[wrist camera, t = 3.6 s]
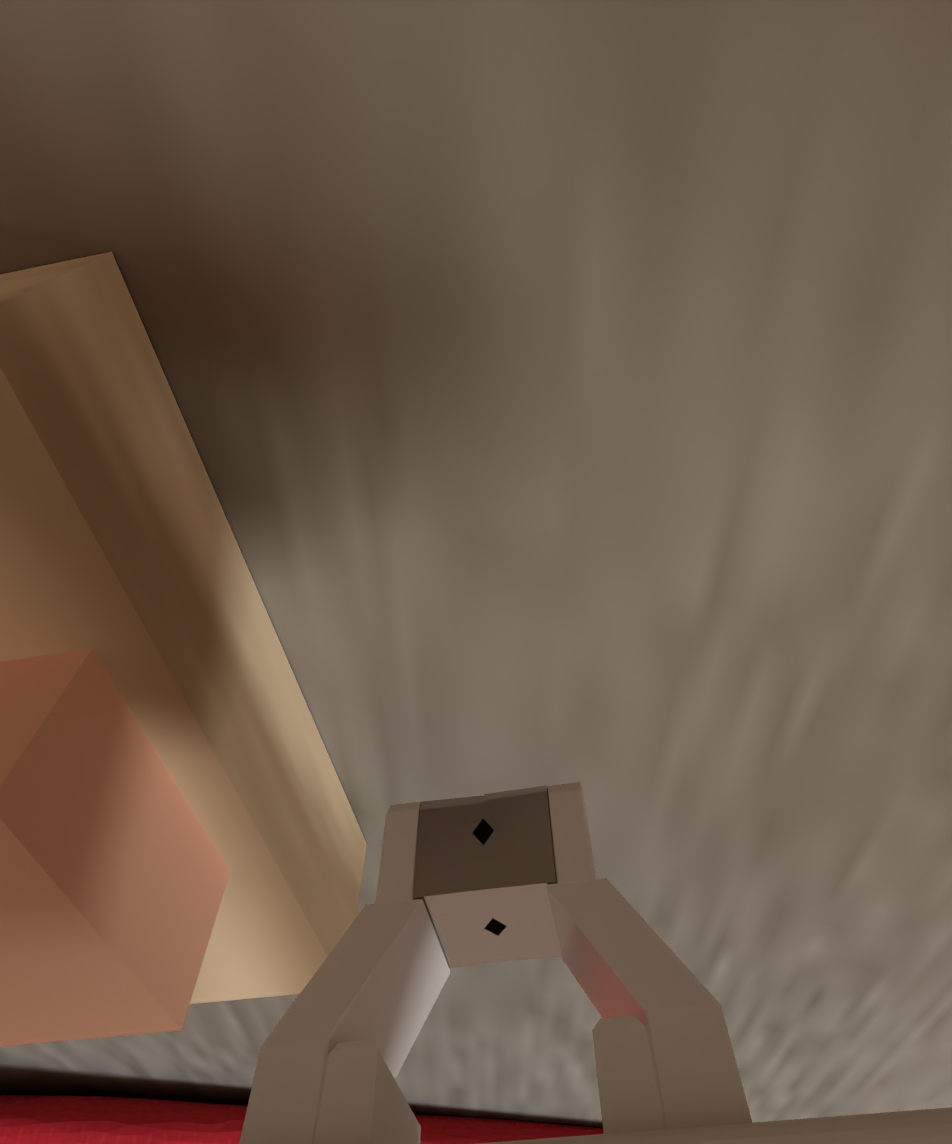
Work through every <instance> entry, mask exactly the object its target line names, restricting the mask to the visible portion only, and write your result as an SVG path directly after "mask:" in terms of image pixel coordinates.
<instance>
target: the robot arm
mask: <svg viewBox="0 0 952 1144" xmlns="http://www.w3.org/2000/svg"><path fill="white" fill-rule="evenodd" d="M552 957H562V958H563V961H564V962H565V964H566V965H567V967H568V968H569V969H570V971H571V972H572V974H573V975H574V977H575V978H576V980H577V981H578V983H579V984H580V985H581V987H582V988H583V990H584V991H585V993H586V994H587V996H588V997H589V998H590V1000H591V1001H592V1003H593V1004H594V1006H595V1007H596V1009H597V1010H598V1012H599V1013H600V1014H601V1016H602V1017H603V1018H602V1019H600V1020H599V1021H598V1023H597V1024H596V1026H595V1027H594V1029H593V1030H592V1031H593V1041H594V1050H595V1059H596V1068H597V1077H598V1086H599V1095H600V1104H601V1113H602V1122H603V1132H604V1134H597V1135H584V1136H571V1137H558V1138H545V1139H532V1140H519V1141H506V1142H492V1143H479V1144H952V1107H951V1108H938V1109H925V1110H912V1111H899V1112H886V1113H873V1114H859V1115H846V1116H833V1117H820V1118H807V1119H794V1120H781V1121H768V1122H755V1123H752V1120H751V1116H750V1112H749V1108H748V1105H747V1101H746V1097H745V1093H744V1090H743V1086H742V1082H741V1078H740V1075H739V1071H738V1067H737V1063H736V1060H735V1056H734V1052H733V1048H732V1045H731V1041H730V1037H729V1034H728V1030H727V1026H726V1022H725V1019H724V1015H723V1011H722V1007H721V1005H720V1004H719V1002H718V1001H717V1000H716V999H715V998H714V997H713V996H712V995H711V994H710V992H709V991H708V990H707V989H706V988H705V987H704V986H703V985H702V984H701V982H700V981H699V980H698V979H697V978H696V977H695V976H694V975H693V974H692V973H691V971H690V970H689V969H688V968H687V967H686V966H685V965H684V964H683V963H682V961H681V960H680V959H679V958H678V957H677V956H676V955H675V954H674V953H673V952H672V950H671V949H670V948H669V947H668V946H667V945H666V944H665V943H664V942H663V940H662V939H661V938H660V937H659V936H658V935H657V934H656V933H655V932H654V931H653V929H652V928H651V927H650V926H649V925H648V924H647V923H646V922H645V921H644V919H643V918H642V917H641V916H640V915H639V914H638V913H637V912H636V911H635V910H634V908H633V907H632V906H631V905H630V904H629V903H628V902H627V901H626V900H625V898H624V897H623V896H622V895H621V894H620V893H619V892H618V891H617V890H616V888H615V887H614V886H613V885H612V884H611V883H610V882H609V881H608V880H607V879H606V878H603V879H596V872H595V866H594V859H593V853H592V847H591V840H590V834H589V827H588V821H587V815H586V808H585V802H584V795H583V789H582V785H581V782H577V783H569V784H561V785H553V786H548V787H547V786H540V787H533V788H526V789H519V790H511V791H504V792H497V793H490V794H485V795H484V796H475V797H464V798H454V799H444V800H434V801H423V802H415V803H406V804H397V805H390V807H389V809H388V812H387V814H386V819H385V827H384V836H383V844H382V852H381V860H380V869H379V877H378V885H377V894H376V902H375V904H369V905H365V907H364V908H363V910H362V911H361V912H360V914H359V915H358V916H357V918H356V919H355V920H354V922H353V923H352V924H351V926H350V927H349V928H348V930H347V931H346V932H345V934H344V935H343V936H342V938H341V939H340V940H339V942H338V943H337V945H336V946H335V947H334V949H333V950H332V951H331V953H330V954H329V955H328V957H327V958H326V959H325V961H324V962H323V963H322V965H321V966H320V967H319V969H318V970H317V971H316V973H315V974H314V976H313V977H312V978H311V980H310V981H309V982H308V984H307V985H306V986H305V988H304V989H303V990H302V992H301V993H300V994H299V996H298V997H297V998H296V1000H295V1001H294V1002H293V1004H292V1005H291V1006H290V1008H289V1009H288V1011H287V1012H286V1013H285V1015H284V1016H283V1017H282V1019H281V1020H280V1021H279V1023H278V1024H277V1025H276V1027H275V1028H274V1029H273V1031H272V1032H271V1033H270V1035H269V1036H268V1037H267V1039H266V1040H265V1042H264V1043H263V1044H262V1046H261V1048H260V1053H259V1057H258V1062H257V1066H256V1071H255V1075H254V1080H253V1084H252V1089H251V1093H250V1098H249V1102H248V1107H247V1111H246V1116H245V1120H244V1124H243V1129H242V1133H241V1138H240V1142H239V1144H420V1133H421V1126H420V1125H419V1123H418V1121H417V1119H416V1117H415V1115H414V1114H413V1112H412V1110H411V1108H410V1106H409V1105H408V1103H407V1101H406V1099H405V1097H404V1095H403V1094H402V1092H401V1090H400V1088H399V1086H398V1085H397V1083H396V1081H395V1078H396V1076H397V1074H398V1073H399V1071H400V1069H401V1067H402V1065H403V1063H404V1061H405V1059H406V1057H407V1055H408V1053H409V1051H410V1049H411V1047H412V1045H413V1044H414V1042H415V1040H416V1038H417V1036H418V1034H419V1032H420V1030H421V1028H422V1026H423V1024H424V1022H425V1020H426V1018H427V1017H428V1015H429V1013H430V1011H431V1009H432V1007H433V1005H434V1003H435V1001H436V999H437V997H438V995H439V993H440V991H441V990H442V988H443V986H444V984H445V982H446V980H447V978H448V976H449V974H450V969H449V968H455V967H462V966H470V965H478V964H485V963H493V962H501V961H511V960H525V959H538V958H552Z"/></svg>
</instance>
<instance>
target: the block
mask: <svg viewBox="0 0 952 1144" xmlns="http://www.w3.org/2000/svg"><path fill="white" fill-rule="evenodd" d="M229 874H230V870H229V868H228V866H227V865H226V863H225V862H224V860H223V858H222V857H221V855H220V853H219V852H218V850H217V849H216V847H215V845H214V844H213V842H212V841H211V839H210V837H209V836H208V834H207V833H206V831H205V829H204V828H203V826H202V824H201V823H200V821H199V820H198V818H197V816H196V815H195V813H194V812H193V810H192V808H191V807H190V805H189V804H188V802H187V800H186V799H185V797H184V795H183V794H182V792H181V791H180V789H179V787H178V786H177V784H176V783H175V781H174V779H173V778H172V776H171V774H170V773H169V771H168V770H167V768H166V766H165V765H164V763H163V762H162V760H161V758H160V757H159V755H158V754H157V752H156V750H155V749H154V747H153V745H152V744H151V742H150V741H149V739H148V737H147V736H146V734H145V733H144V731H143V729H142V728H141V726H140V724H139V723H138V721H137V720H136V718H135V716H134V715H133V713H132V712H131V710H130V708H129V707H128V705H127V704H126V702H125V700H124V699H123V697H122V695H121V694H120V692H119V691H118V689H117V687H116V686H115V684H114V683H113V681H112V679H111V678H110V676H109V675H108V673H107V671H106V670H105V668H104V666H103V665H102V663H101V662H100V660H99V658H98V657H97V655H96V654H95V652H94V650H93V649H92V648H91V649H84V650H77V651H70V652H64V653H57V654H50V655H43V656H36V657H30V658H23V659H16V660H9V661H3V662H0V1046H11V1045H22V1044H34V1043H45V1042H56V1041H67V1040H78V1039H90V1038H101V1037H112V1036H123V1035H134V1034H146V1033H157V1032H168V1031H179V1030H182V1027H183V1024H184V1021H185V1017H186V1014H187V1011H188V1008H189V1004H190V1001H191V998H192V995H193V991H194V988H195V985H196V982H197V978H198V975H199V972H200V969H201V965H202V962H203V959H204V956H205V952H206V949H207V946H208V943H209V939H210V936H211V933H212V930H213V926H214V923H215V920H216V917H217V913H218V910H219V907H220V904H221V900H222V897H223V894H224V891H225V887H226V884H227V881H228V878H229Z"/></svg>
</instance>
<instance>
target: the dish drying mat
mask: <svg viewBox="0 0 952 1144" xmlns="http://www.w3.org/2000/svg"><path fill="white" fill-rule="evenodd" d="M247 1107H248V1106H245V1105H225V1104H213V1103H199V1102H186V1101H170V1100H158V1099H146V1098H124V1097H102V1096H39V1095H0V1144H239V1142H240V1138H241V1133H242V1129H243V1124H244V1120H245V1116H246V1111H247ZM415 1117H416V1119H417V1121H418V1123H419V1125H420V1126H421V1133H420V1144H479V1143H492V1142H506V1141H519V1140H532V1139H545V1138H558V1137H571V1136H584V1135H597V1134H604V1132H603V1128H593V1127H583V1126H571V1125H560V1124H549V1123H536V1122H526V1121H516V1120H503V1119H488V1118H471V1117H452V1116H435V1115H415Z"/></svg>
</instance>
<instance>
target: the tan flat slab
mask: <svg viewBox="0 0 952 1144" xmlns="http://www.w3.org/2000/svg"><path fill="white" fill-rule="evenodd" d="M91 648H92V649H93V650H94V652H95V654H96V655H97V657H98V658H99V660H100V662H101V663H102V665H103V666H104V668H105V670H106V671H107V673H108V675H109V676H110V678H111V679H112V681H113V683H114V684H115V686H116V687H117V689H118V691H119V692H120V694H121V695H122V697H123V699H124V700H125V702H126V704H127V705H128V707H129V708H130V710H131V712H132V713H133V715H134V716H135V718H136V720H137V721H138V723H139V724H140V726H141V728H142V729H143V731H144V733H145V734H146V736H147V737H148V739H149V741H150V742H151V744H152V745H153V747H154V749H155V750H156V752H157V754H158V755H159V757H160V758H161V760H162V762H163V763H164V765H165V766H166V768H167V770H168V771H169V773H170V774H171V776H172V778H173V779H174V781H175V783H176V784H177V786H178V787H179V789H180V791H181V792H182V794H183V795H184V797H185V799H186V800H187V802H188V804H189V805H190V807H191V808H192V810H193V812H194V813H195V815H196V816H197V818H198V820H199V821H200V823H201V824H202V826H203V828H204V829H205V831H206V833H207V834H208V836H209V837H210V839H211V841H212V842H213V844H214V845H215V847H216V849H217V850H218V852H219V853H220V855H221V857H222V858H223V860H224V862H225V863H226V865H227V866H228V868H229V870H230V874H229V878H228V881H227V884H226V887H225V891H224V894H223V897H222V900H221V904H220V907H219V910H218V913H217V917H216V920H215V923H214V926H213V930H212V933H211V936H210V939H209V943H208V946H207V949H206V952H205V956H204V959H203V962H202V965H201V969H200V972H199V975H198V978H197V982H196V985H195V988H194V991H193V995H192V998H191V1001H190V1004H195V1003H205V1002H216V1001H227V1000H238V999H248V998H259V997H270V996H281V995H291V994H300V993H301V992H302V990H303V989H304V988H305V986H306V985H307V984H308V982H309V981H310V980H311V978H312V977H313V976H314V974H315V973H316V971H317V970H318V969H319V967H320V966H321V965H322V963H323V962H324V961H325V959H326V958H327V957H328V955H329V954H330V953H331V951H332V950H333V949H334V947H335V946H336V945H337V943H338V942H339V940H340V939H341V938H342V936H343V935H344V934H345V932H346V931H347V930H348V928H349V927H350V926H351V924H352V923H353V922H354V920H355V919H356V917H357V910H358V903H359V896H360V889H361V882H362V875H363V868H364V861H365V854H366V847H367V844H366V841H365V839H364V837H363V834H362V832H361V830H360V827H359V825H358V823H357V820H356V818H355V816H354V813H353V811H352V809H351V806H350V804H349V802H348V799H347V797H346V795H345V792H344V790H343V788H342V786H341V783H340V781H339V779H338V776H337V774H336V772H335V769H334V767H333V765H332V762H331V760H330V758H329V755H328V753H327V751H326V748H325V746H324V744H323V741H322V739H321V737H320V734H319V732H318V730H317V727H316V725H315V723H314V720H313V718H312V716H311V714H310V711H309V709H308V707H307V704H306V702H305V700H304V697H303V695H302V693H301V690H300V688H299V686H298V683H297V681H296V679H295V676H294V674H293V672H292V669H291V667H290V665H289V662H288V660H287V658H286V655H285V653H284V651H283V648H282V646H281V644H280V642H279V639H278V637H277V635H276V632H275V630H274V628H273V625H272V623H271V621H270V618H269V616H268V614H267V611H266V609H265V607H264V604H263V602H262V600H261V597H260V595H259V593H258V590H257V588H256V586H255V583H254V581H253V579H252V576H251V574H250V572H249V570H248V567H247V565H246V563H245V560H244V558H243V556H242V553H241V551H240V549H239V546H238V544H237V542H236V539H235V537H234V535H233V532H232V530H231V528H230V525H229V523H228V521H227V518H226V516H225V514H224V511H223V509H222V507H221V504H220V502H219V500H218V497H217V495H216V493H215V491H214V488H213V486H212V484H211V481H210V479H209V477H208V474H207V472H206V470H205V467H204V465H203V463H202V460H201V458H200V456H199V453H198V451H197V449H196V446H195V444H194V442H193V439H192V437H191V435H190V432H189V430H188V428H187V425H186V423H185V421H184V419H183V416H182V414H181V412H180V409H179V407H178V405H177V402H176V400H175V398H174V395H173V393H172V391H171V388H170V386H169V384H168V381H167V379H166V377H165V374H164V372H163V370H162V367H161V365H160V363H159V360H158V358H157V356H156V353H155V351H154V349H153V347H152V344H151V342H150V340H149V337H148V335H147V333H146V330H145V328H144V326H143V323H142V321H141V319H140V316H139V314H138V312H137V309H136V307H135V305H134V302H133V300H132V298H131V295H130V293H129V291H128V288H127V286H126V284H125V281H124V279H123V277H122V275H121V272H120V270H119V268H118V265H117V263H116V261H115V258H114V256H113V254H112V252H107V253H102V254H97V255H92V256H87V257H83V258H78V259H73V260H68V261H63V262H58V263H53V264H49V265H44V266H39V267H34V268H29V269H24V270H19V271H15V272H10V273H5V274H0V662H3V661H9V660H16V659H23V658H30V657H36V656H43V655H50V654H57V653H64V652H70V651H77V650H84V649H91Z"/></svg>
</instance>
